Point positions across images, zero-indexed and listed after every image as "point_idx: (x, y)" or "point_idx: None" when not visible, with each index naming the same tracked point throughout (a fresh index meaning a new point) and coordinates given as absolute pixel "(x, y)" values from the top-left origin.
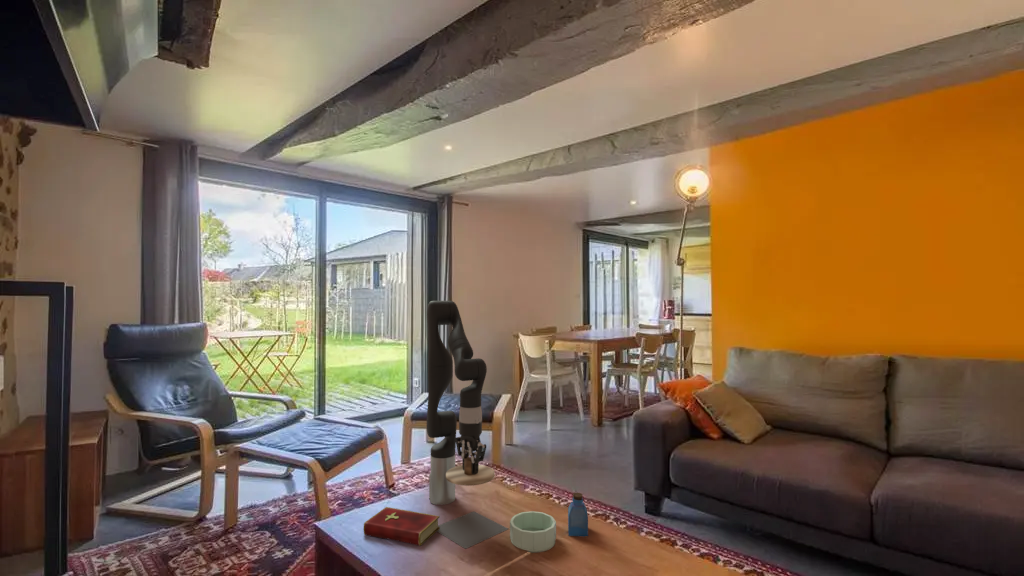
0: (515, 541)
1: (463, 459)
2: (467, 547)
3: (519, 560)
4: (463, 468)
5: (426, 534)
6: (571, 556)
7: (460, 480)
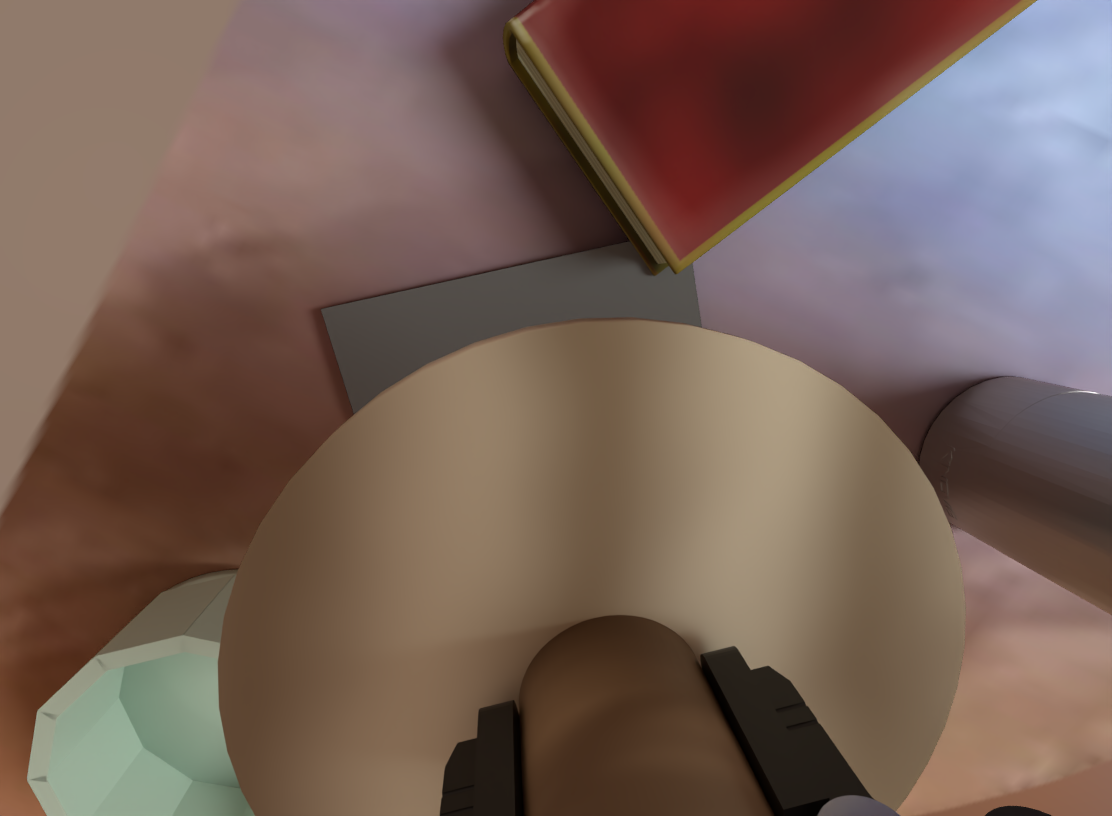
0: (202, 590)
1: (814, 805)
2: (330, 326)
3: (82, 528)
4: (727, 665)
5: (573, 128)
6: (12, 767)
7: (395, 454)
